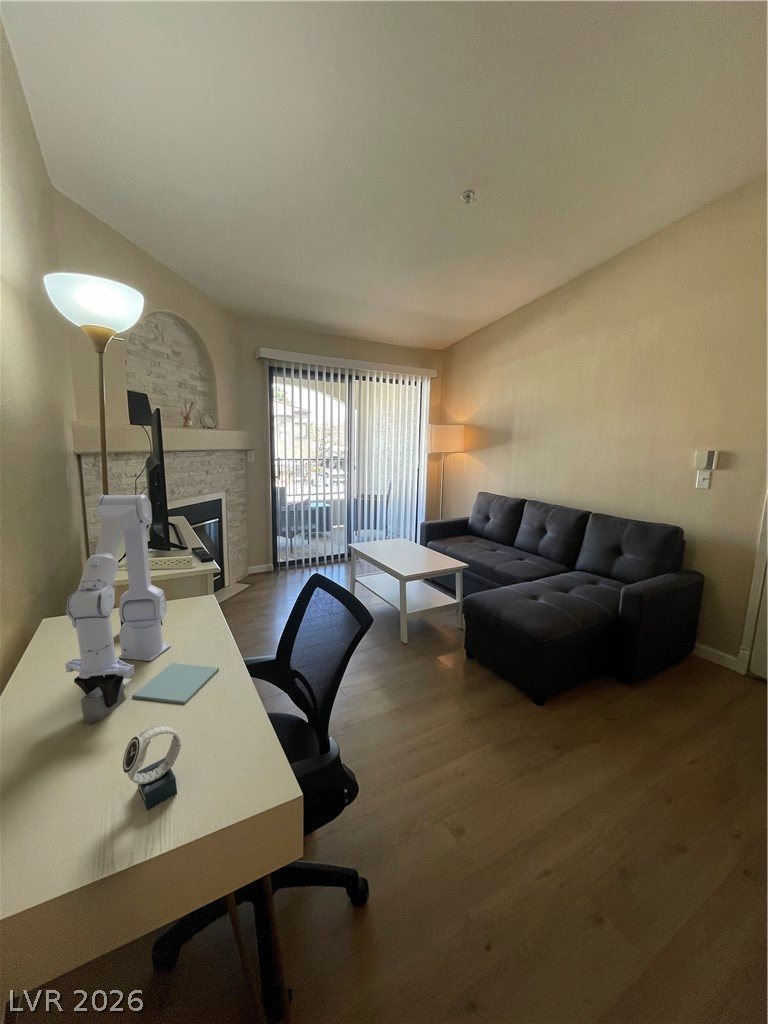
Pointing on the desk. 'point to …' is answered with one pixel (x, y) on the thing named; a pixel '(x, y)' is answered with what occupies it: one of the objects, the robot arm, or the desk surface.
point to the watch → (152, 766)
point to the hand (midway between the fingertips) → (104, 703)
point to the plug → (100, 703)
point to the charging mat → (176, 683)
